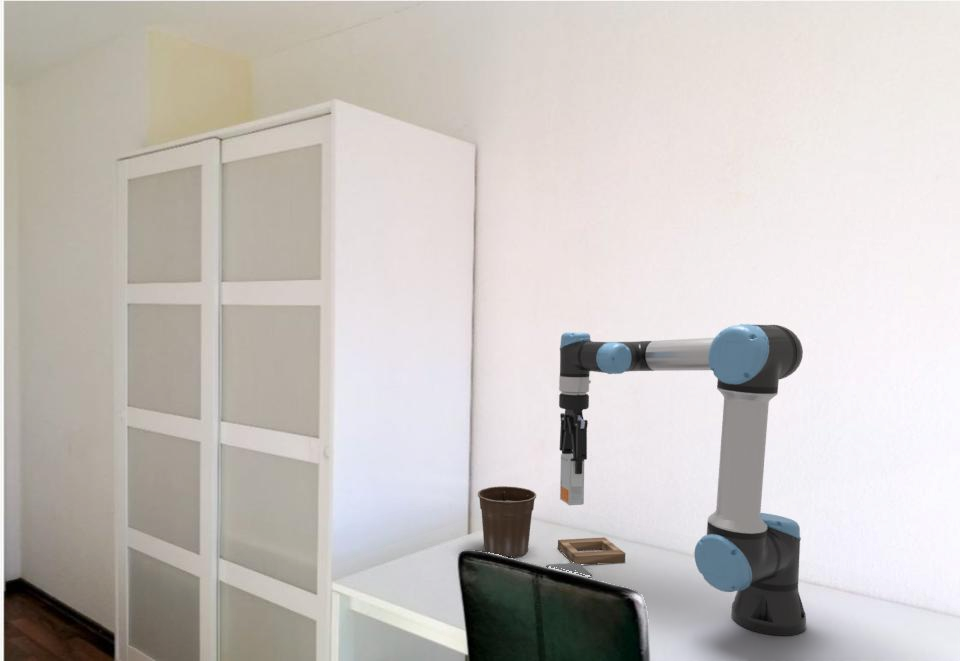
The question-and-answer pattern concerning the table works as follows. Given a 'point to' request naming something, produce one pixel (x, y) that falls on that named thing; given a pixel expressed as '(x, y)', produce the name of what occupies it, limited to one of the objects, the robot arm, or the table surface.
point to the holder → (594, 557)
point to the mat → (571, 568)
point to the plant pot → (506, 519)
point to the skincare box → (566, 490)
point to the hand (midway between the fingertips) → (572, 483)
